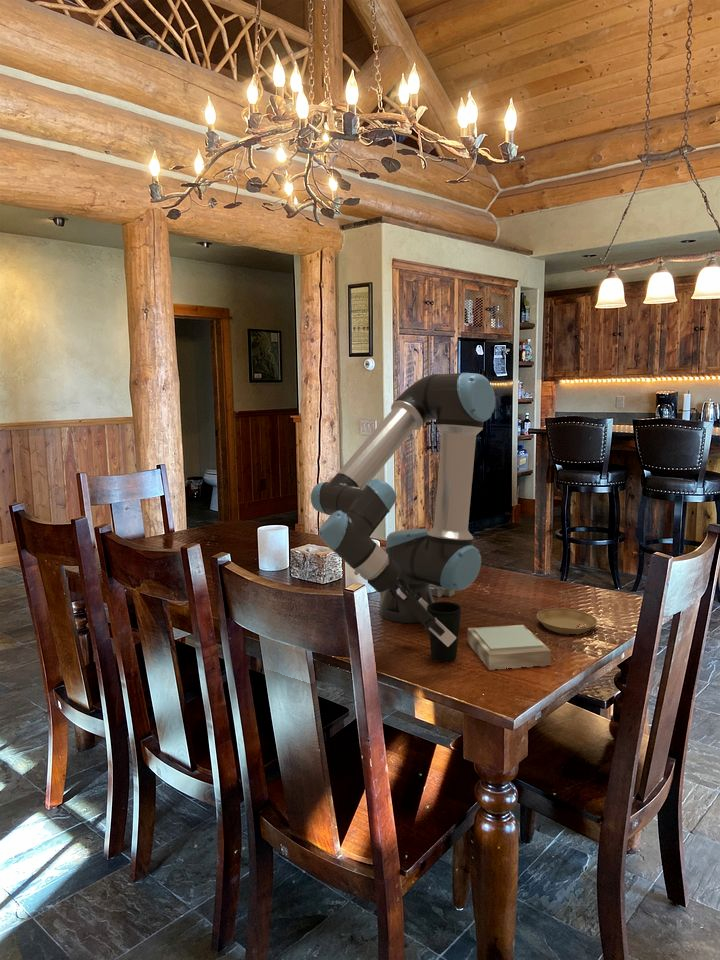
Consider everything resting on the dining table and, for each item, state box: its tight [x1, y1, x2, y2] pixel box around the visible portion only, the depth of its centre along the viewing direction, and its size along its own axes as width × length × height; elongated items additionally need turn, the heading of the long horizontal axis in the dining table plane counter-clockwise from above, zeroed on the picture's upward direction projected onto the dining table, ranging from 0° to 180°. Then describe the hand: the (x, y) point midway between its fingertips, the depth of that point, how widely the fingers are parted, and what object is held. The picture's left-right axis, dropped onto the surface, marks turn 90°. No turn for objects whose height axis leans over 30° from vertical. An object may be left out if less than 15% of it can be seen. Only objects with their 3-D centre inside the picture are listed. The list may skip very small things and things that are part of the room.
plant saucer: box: [536, 607, 598, 635], centre depth 166 cm, size 15×15×3 cm
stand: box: [466, 624, 552, 671], centre depth 150 cm, size 16×14×4 cm
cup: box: [427, 601, 462, 663], centre depth 147 cm, size 8×8×12 cm
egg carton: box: [429, 584, 456, 598], centre depth 194 cm, size 11×8×4 cm
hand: (444, 630), depth 147 cm, fingers open, 13 cm apart
